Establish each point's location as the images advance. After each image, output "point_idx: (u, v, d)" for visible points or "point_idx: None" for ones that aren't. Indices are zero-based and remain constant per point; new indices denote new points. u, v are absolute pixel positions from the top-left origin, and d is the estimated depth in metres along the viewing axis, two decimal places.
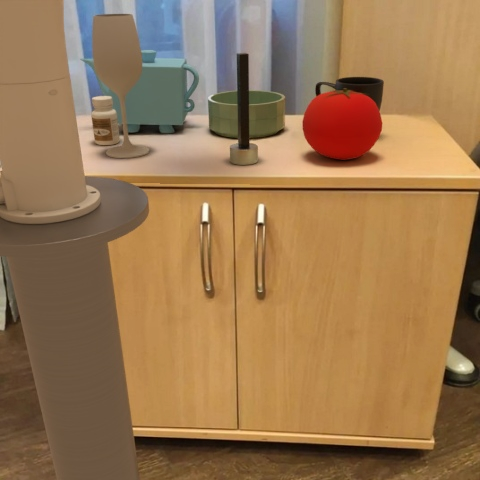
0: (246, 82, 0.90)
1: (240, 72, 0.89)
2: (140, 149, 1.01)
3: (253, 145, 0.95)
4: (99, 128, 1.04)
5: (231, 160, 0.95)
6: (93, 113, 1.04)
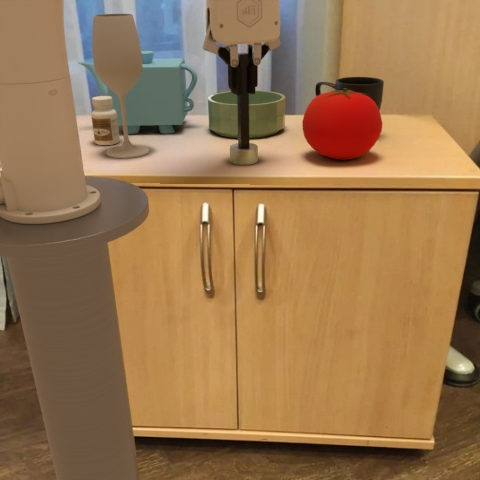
0: (246, 82, 0.90)
1: None
2: (140, 149, 1.01)
3: (253, 145, 0.95)
4: (99, 128, 1.05)
5: (231, 160, 0.95)
6: (93, 113, 1.04)
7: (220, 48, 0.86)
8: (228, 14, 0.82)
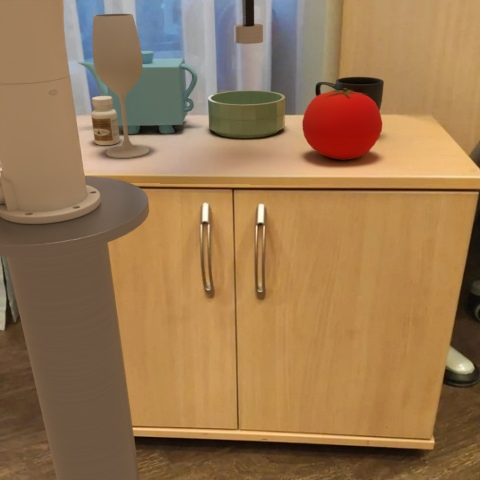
0: None
1: None
2: (140, 149, 1.01)
3: (258, 24, 0.92)
4: (99, 128, 1.05)
5: (235, 40, 0.92)
6: (93, 113, 1.04)
7: None
8: None
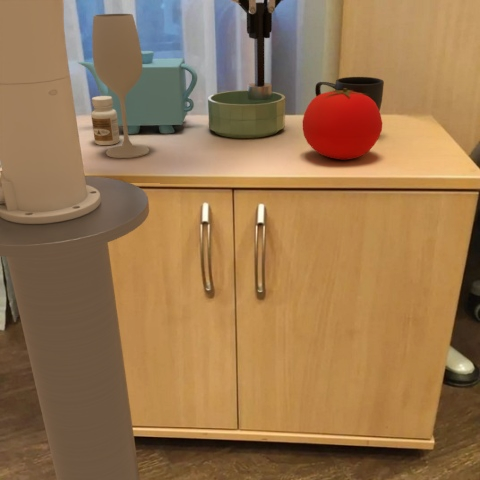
0: (262, 28, 1.06)
1: None
2: (140, 149, 1.01)
3: (267, 84, 1.11)
4: (99, 128, 1.05)
5: (249, 97, 1.11)
6: (93, 113, 1.04)
7: None
8: None
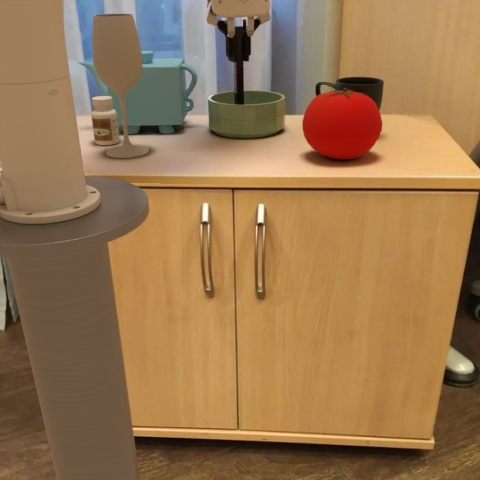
0: (241, 51, 1.06)
1: None
2: (140, 149, 1.01)
3: None
4: (99, 128, 1.04)
5: None
6: (93, 113, 1.04)
7: (219, 21, 1.02)
8: None
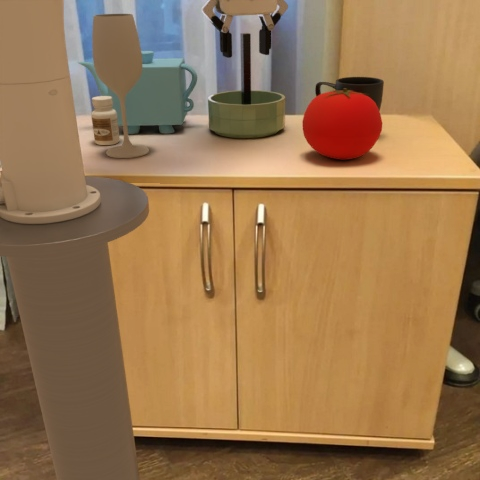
0: (248, 58, 1.07)
1: (243, 49, 1.06)
2: (140, 149, 1.01)
3: None
4: (99, 128, 1.05)
5: None
6: (93, 113, 1.04)
7: (213, 16, 1.02)
8: None
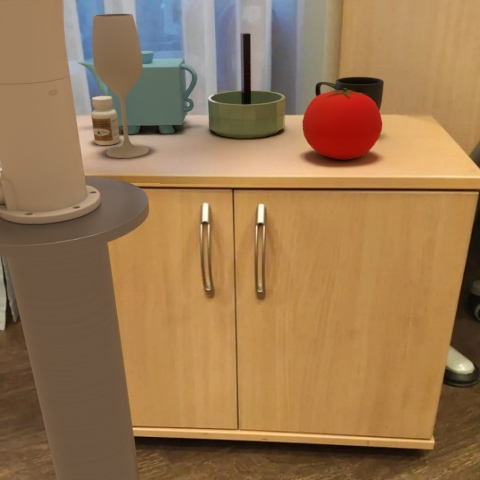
0: (248, 58, 1.07)
1: (243, 49, 1.06)
2: (140, 149, 1.01)
3: None
4: (99, 128, 1.05)
5: None
6: (93, 113, 1.04)
7: None
8: None
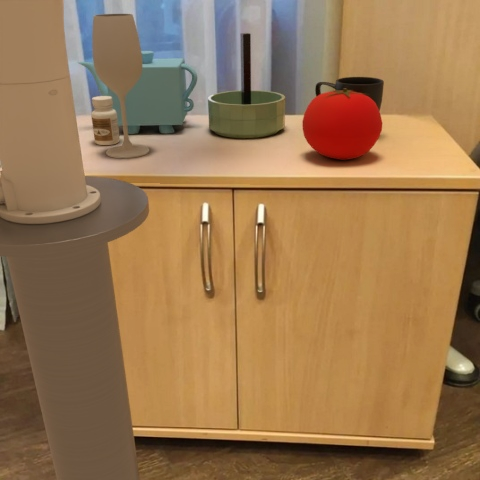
0: (248, 58, 1.07)
1: (243, 49, 1.06)
2: (140, 149, 1.01)
3: None
4: (99, 128, 1.05)
5: None
6: (93, 113, 1.04)
7: None
8: None
